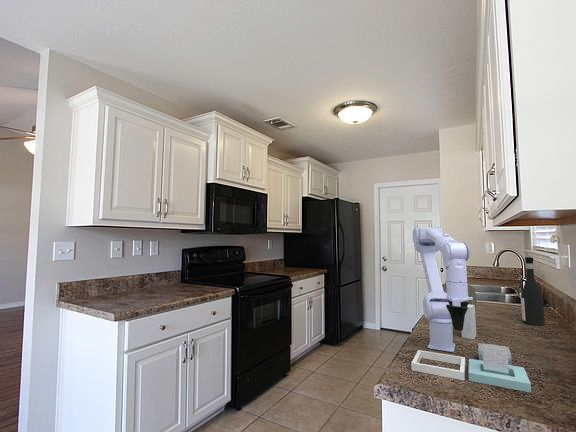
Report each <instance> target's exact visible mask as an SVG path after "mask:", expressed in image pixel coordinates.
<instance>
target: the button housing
mask: <svg viewBox="0 0 576 432" xmlns="http://www.w3.org/2000/svg"><path fill="white" fill-rule="evenodd" d="M477 345H478V348H477V349H478V360H481V361H483V351H482V343H481V342H478V343H477ZM506 348H507V351H508V365H512V364H513V363H512V362H513V361H512V354H511V350H510V347H508V346H506ZM512 366H513V365H512Z"/></svg>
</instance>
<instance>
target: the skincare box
mask: <svg viewBox="0 0 576 432" xmlns="http://www.w3.org/2000/svg"><path fill="white" fill-rule="evenodd" d="M467 307H468V310H467V312H466V314H465V318H464V325H463V330H462V331H460V332H461V338H463V339H468V340H474V339H475V338H476V337H477V323H476V321H477V320H476V312H475V305H470V304H468V306H467Z"/></svg>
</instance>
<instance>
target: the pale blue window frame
mask: <svg viewBox="0 0 576 432" xmlns="http://www.w3.org/2000/svg"><path fill="white" fill-rule="evenodd" d="M508 369H509V376H506V375H501V374H495V373H489V372H484V370H483V361H481V360H479V359H473V358H469V359H468V381H469V382H473V383H479V384H483V385H484V384H485V385H489V386H495V387H500V388H503V389H504V388H506V389H510V390H516V391H521V392H525V393H526V392H527V393H532V384H531V381H530V379H529V377H528V373H527V372H526V370H525V368H524V366H523V367H522V366H517V365H508Z"/></svg>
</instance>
